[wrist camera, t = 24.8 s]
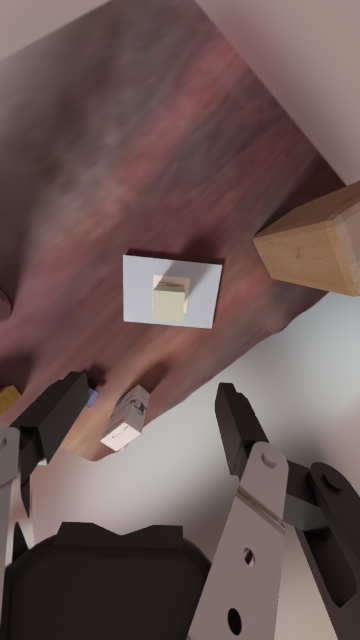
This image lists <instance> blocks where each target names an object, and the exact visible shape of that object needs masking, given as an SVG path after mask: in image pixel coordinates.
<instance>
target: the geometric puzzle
mask: <svg viewBox="0 0 360 640" xmlns="http://www.w3.org/2000/svg"><path fill="white" fill-rule="evenodd" d="M90 381H91V380H90ZM91 382H92V381H91ZM89 385H90V384H89ZM89 385H88V399H87V402H86V404H85V405H86V406H88V407H89V408H90V406H91V405H92V403H93V402H94V401H95V399H96V398H97V396H98V395H99V394H100V393H99V392H97V391H96V390H95V391H94V389H93V388H92V389H91V387H90V386H89ZM89 387H90V388H89Z"/></svg>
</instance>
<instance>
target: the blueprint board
mask: <svg viewBox="0 0 360 640" xmlns="http://www.w3.org/2000/svg"><path fill="white" fill-rule="evenodd" d="M221 269H222V265H216V264H206V263H197V262H187V261H177V260H167V259H158V258H148V257H138V256H128V255H123V289H124V321H130V322H141V323H153V324H165V325H176V326H188V327H199V328H212V322H213V316H214V310H215V305H216V299H217V293H218V287H219V281H220V275H221ZM159 281H160V282H170V283H181V284H183V285H184V290H185V300H184V311H183V323H182V322H167V321H152V312H153V290H154V288H155V287H156V286H157V284H158V283H159Z"/></svg>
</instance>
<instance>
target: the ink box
mask: <svg viewBox="0 0 360 640" xmlns="http://www.w3.org/2000/svg"><path fill="white" fill-rule="evenodd" d="M149 397H150V394H149V393H148V392H147V391H146V390H145V389H144V388H142V387H141V386H140V385H137V386H136V387H134V388H133V389H132V390H131V391H129V392H128V393H127V394H126V395H125V396H123V397H122V398H121V399H120V400H118V402H117V404H116V406H115V409H114V411H113V413H112V415H111V418H110V420H109V422H108V425H107V427H106V429H105V432H104V434H103V436H102V438H101V442H102V443H103V444H105V445H107V446H108V447H110V448H111V449H113V450H115V451H118V450H119V449H120V448H122V447H123V446H125V445H126V444H127V443H129V442H130V441H131V440H133V439H134V438H135V437H137V436H138V435H139V434H141V432H142V428H143V423H144V419H145V415H146V410H147V406H148V402H149Z"/></svg>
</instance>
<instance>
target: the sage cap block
mask: <svg viewBox="0 0 360 640" xmlns="http://www.w3.org/2000/svg"><path fill="white" fill-rule="evenodd" d="M184 300H185V290H184V287H171V286H158V285H157V286H156V287H155V288H154V290H153V312H152V321H167V322H182V323H183V311H184Z"/></svg>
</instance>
